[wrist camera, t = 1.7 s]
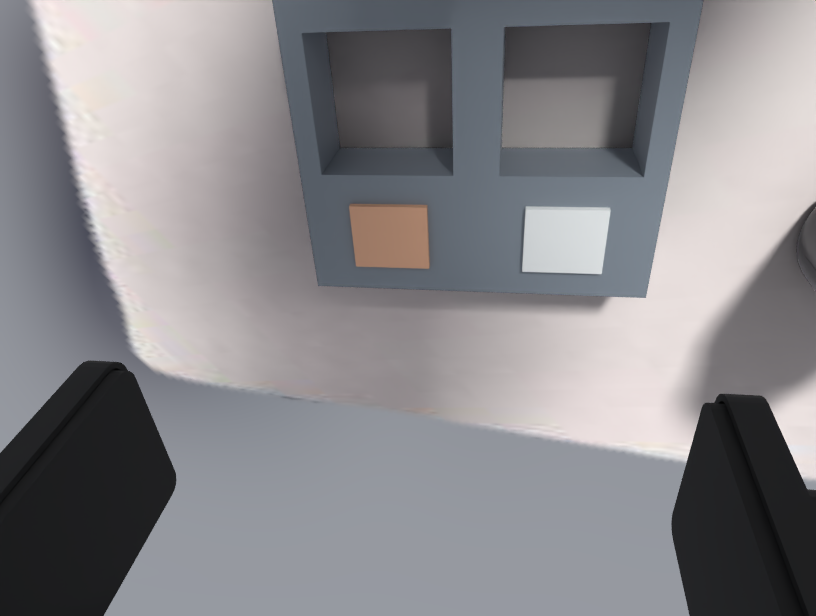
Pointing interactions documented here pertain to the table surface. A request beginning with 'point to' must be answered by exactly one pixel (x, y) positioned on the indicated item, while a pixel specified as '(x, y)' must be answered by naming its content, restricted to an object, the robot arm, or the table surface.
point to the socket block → (484, 159)
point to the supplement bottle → (808, 249)
